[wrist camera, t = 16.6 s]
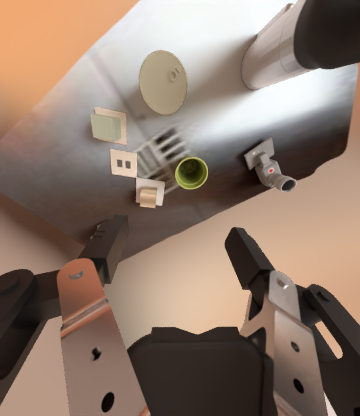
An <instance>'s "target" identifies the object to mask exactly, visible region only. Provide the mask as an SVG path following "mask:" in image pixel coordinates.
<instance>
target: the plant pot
mask: <svg viewBox="0 0 360 416" xmlns="http://www.w3.org/2000/svg"><path fill="white" fill-rule="evenodd" d="M194 162H195V163H196V165H195V163H194ZM188 165H189V167H188ZM181 166H182V168H181ZM182 169H183V170H182ZM191 171H192V172H191ZM188 172H191V173H188ZM207 176H208V168H207V166H206V164H205V163H204V162H203V161H202V160H201V159H199V158H196V157H191V156H187V157H184V158H183V159H182V160H181V161H180V163H179V165H178V166H177V168H176V171H175V177H176V181H177V182H178V184H179V185H180V186H181V187H183V188H185V189H195V188H198V187H200V186H201V185H202V184H203V183H204V182H205V181H206V179H207Z"/></svg>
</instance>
